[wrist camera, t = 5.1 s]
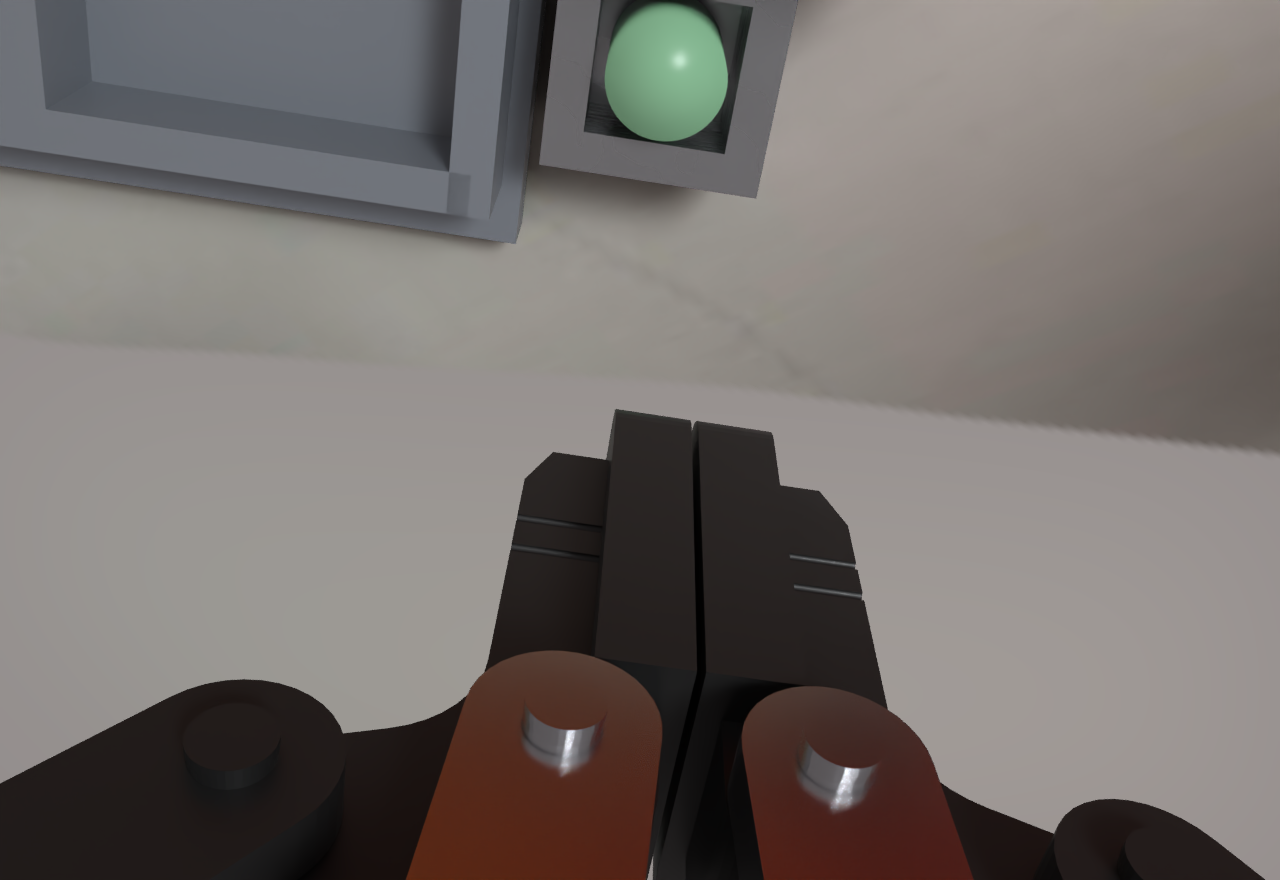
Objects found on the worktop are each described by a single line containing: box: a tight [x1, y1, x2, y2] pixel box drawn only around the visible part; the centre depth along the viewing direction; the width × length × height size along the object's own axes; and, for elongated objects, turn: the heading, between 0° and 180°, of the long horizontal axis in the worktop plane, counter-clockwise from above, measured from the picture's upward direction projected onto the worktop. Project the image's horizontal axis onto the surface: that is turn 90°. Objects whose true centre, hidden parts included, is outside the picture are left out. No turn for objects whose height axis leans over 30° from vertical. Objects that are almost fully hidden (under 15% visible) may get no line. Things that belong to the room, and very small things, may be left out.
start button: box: [605, 0, 728, 141], centre depth 26 cm, size 3×3×3 cm
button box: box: [539, 0, 798, 198], centre depth 28 cm, size 5×5×4 cm
